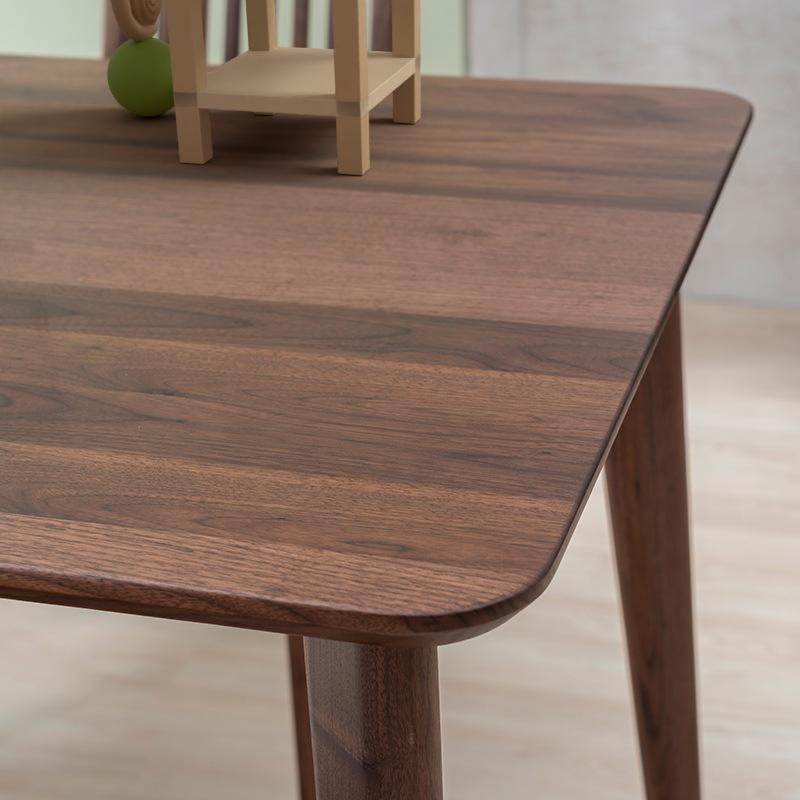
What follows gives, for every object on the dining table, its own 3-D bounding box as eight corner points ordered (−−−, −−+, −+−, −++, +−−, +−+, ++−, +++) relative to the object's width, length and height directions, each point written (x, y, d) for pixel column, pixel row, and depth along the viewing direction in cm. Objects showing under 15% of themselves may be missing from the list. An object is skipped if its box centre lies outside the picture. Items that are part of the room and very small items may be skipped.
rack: (179, 162, 79) (161, -38, 73) (260, 108, 91) (249, -68, 85) (362, 175, 76) (357, -33, 70) (421, 118, 88) (420, -64, 82)
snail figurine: (90, 125, 87) (68, -57, 82) (134, 103, 93) (115, -69, 87) (162, 131, 86) (143, -55, 80) (201, 108, 91) (187, -67, 86)
